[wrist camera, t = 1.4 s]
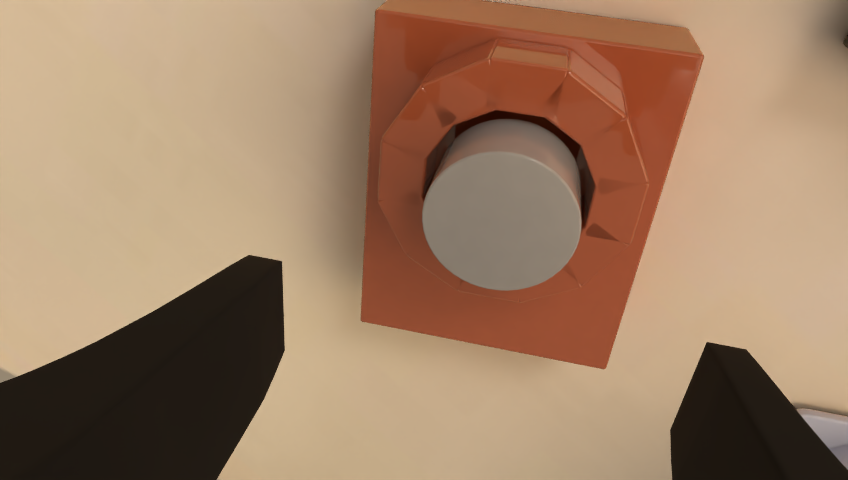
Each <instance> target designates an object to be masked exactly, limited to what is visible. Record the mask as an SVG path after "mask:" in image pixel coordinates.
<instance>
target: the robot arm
mask: <svg viewBox="0 0 848 480" xmlns="http://www.w3.org/2000/svg"><path fill="white" fill-rule="evenodd" d="M284 351H285V346H284V313H283V280H282V261H278V260H273V259H268V258H262V257H257V256H252V255H248V256H246V257H244V258H243V259H241V260H239V261H237V262H235V263H234V264H232V265H230V266H229V267H227V268H225V269H224V270H222V271H220V272H219V273H217V274H215V275H214V276H212V277H210V278H209V279H207V280H206V281H204V282H202V283H201V284H199V285H197V286H196V287H194V288H192V289H191V290H189V291H187V292H186V293H184V294H182V295H180V296H179V297H177V298H175V299H174V300H172V301H170V302H168V303H167V304H165V305H163V306H162V307H160V308H158V309H157V310H155V311H153V312H151V313H149V314H148V315H146V316H144V317H142V318H140V319H138V320H136V321H134V322H132V323H131V324H129V325H127V326H125V327H123V328H121V329H119V330H117V331H115V332H114V333H112V334H110V335H108V336H106V337H104V338H102V339H100V340H99V341H97V342H95V343H92V344H90V345H88V346H86V347H84V348H82V349H80V350H78V351H76V352H74V353H71V354H69V355H67V356H65V357H63V358H60V359H58V360H56V361H53V362H51V363H49V364H46V365H44V366H42V367H39V368H37V369H35V370H33V371H30V372H28V373H25V374H23V375H20V376H18V377H15V378H13V379H10V380H7V381H4V382H2V383H0V480H216V479H217V478H218V476H219V474H220V473H221V471H222V469H223V468H224V466H225V464H226V463H227V461H228V459H229V458H230V456H231V454H232V453H233V451H234V449H235V448H236V446H237V444H238V443H239V441H240V439H241V438H242V436H243V434H244V432H245V431H246V429H247V427H248V426H249V424H250V422H251V421H252V419H253V417H254V415H255V414H256V412H257V410H258V409H259V407H260V405H261V403H262V402H263V400H264V398H265V395H266V393H267V391H268V389H269V386H270V384H271V382H272V380H273V377H274V375H275V372H276V370H277V368H278V365H279V363H280V360H281V358H282V356H283V353H284ZM670 435H671V464H672V480H848V416H843V415H837V414H832V413H827V412H822V411H817V410H812V409H806V408H800V409H795V408H794V407H793V405H792V404H791V403H790V402H789V400H788V399H787V398H786V397H785V396H784V394H783V393H782V392H781V391H780V389H779V388H778V387H777V386H776V385H775V383H774V382H773V381H772V380H771V378H770V377H769V376H768V375H767V373H766V372H765V371H764V370H763V369H762V367H761V366H760V365H759V364H758V363H757V361H756V360H755V359H754V358H753V357H752V356H751V355H750V353H749V352H748V351H747V350H746V349H740V348H735V347H730V346H725V345H719V344H714V343H709V342H707V343H706V346H705V348H704V350H703V353H702V355H701V358H700V360H699V362H698V365H697V367H696V370H695V372H694V374H693V377H692V379H691V382H690V384H689V386H688V389H687V391H686V394H685V396H684V398H683V401H682V403H681V406H680V408H679V410H678V413H677V415H676V418H675V420H674V423H673V425H672V427H671V430H670Z"/></svg>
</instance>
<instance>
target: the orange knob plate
mask: <svg viewBox="0 0 848 480" xmlns="http://www.w3.org/2000/svg"><path fill="white" fill-rule="evenodd" d="M703 59H704V55H703V53H702V52H701V50H700V48H699V46H698V45H697V43H696V41H695V40H694V38H693V36H692V34H691V33H690V31H689V29H687V28H683V27H676V26H668V25H661V24H654V23H646V22H639V21H631V20H624V19H616V18H609V17H602V16H594V15H587V14H579V13H572V12H565V11H557V10H550V9H542V8H535V7H528V6H520V5H513V4H505V3H498V2H491V1H483V0H387V1H386V2H384V3H383V4H382V5H381V6H380V7H379V8H377V9H376V11H375V25H374V46H373V67H372V88H371V110H370V131H369V152H368V173H367V194H366V216H365V237H364V258H363V279H362V301H361V321H362V322H367V323H372V324H377V325H382V326H387V327H392V328H397V329H402V330H408V331H413V332H418V333H423V334H428V335H433V336H438V337H443V338H448V339H453V340H458V341H463V342H468V343H473V344H479V345H484V346H489V347H494V348H499V349H504V350H509V351H514V352H519V353H524V354H529V355H534V356H539V357H544V358H549V359H555V360H560V361H565V362H570V363H575V364H580V365H585V366H590V367H595V368H600V369H605V368H606V367H607V363H608V360H609V357H610V354H611V351H612V348H613V344H614V341H615V338H616V335H617V332H618V329H619V325H620V322H621V319H622V316H623V313H624V310H625V306H626V303H627V300H628V297H629V294H630V291H631V287H632V284H633V281H634V278H635V275H636V272H637V268H638V265H639V262H640V259H641V256H642V253H643V249H644V246H645V243H646V240H647V237H648V234H649V230H650V227H651V224H652V221H653V218H654V215H655V211H656V208H657V205H658V202H659V199H660V196H661V192H662V189H663V186H664V183H665V180H666V176H667V173H668V170H669V167H670V164H671V161H672V157H673V154H674V151H675V148H676V145H677V142H678V138H679V135H680V132H681V129H682V126H683V123H684V119H685V116H686V113H687V110H688V107H689V104H690V100H691V97H692V94H693V91H694V88H695V85H696V81H697V78H698V75H699V72H700V69H701V66H702V62H703ZM496 119H519V120H523V121H528V122H531V123H534V124H537V125H539V126H541V127H543V128H545V129H547V130H549V131H550V132H552V133H553V134H555V135H556V136H557V137H558V138H559V139H560V140H561V141H563V143H564V144H565V145H566V146H567V147H568V148H569V150H570V152H571V153H572V155H573V156H574V158H575V161H576V163H577V165H578V168H579V172H580V178H581V216H582V224H581V235H580V240H579V243H578V246H577V248H576V250H575V252H574V254H573V256H572V257H571V259H570V260H569V262H568V263H567V264H566V265H565V266H564V267H563V268H562V269H561V270H560V271H559V272H558V273H557V274H555V275H554V276H553V277H551V278H549V279H548V280H546V281H544V282H542V283H540V284H538V285H535V286H532V287H529V288H524V289H519V290H509V291H505V290H492V289H486V288H482V287H478V286H476V285H473V284H470V283H468V282H466V281H464V280H462V279H460V278H459V277H457V276H455V275H454V274H452V273H451V272H450V271H449V270H447V269H446V268H445V267H444V266H443V265H442V264H441V263H440V262H439V261H438V259H437V258H436V257H435V255H434V254H433V252H432V251H431V249H430V247H429V245H428V243H427V240H426V238H425V234H424V231H423V225H422V209H423V203H424V200H425V197H426V194H427V191H428V189H429V187H430V184H431V182H432V180H433V177H434V175H435V173H436V170H437V168H438V165H439V163H440V161H441V158H442V156H443V154H444V153H445V151H446V149H447V148H448V146H449V145H450V144H451V143H452V142H453V141H454V140H455V138H456V137H458V136H459V135H460V134H461V133H463V132H464V131H466V130H467V129H469V128H471V127H473V126H475V125H477V124H479V123H483V122H486V121H489V120H496Z"/></svg>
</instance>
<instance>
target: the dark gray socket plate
mask: <svg viewBox="0 0 848 480" xmlns="http://www.w3.org/2000/svg"><path fill="white" fill-rule="evenodd" d="M843 44H844V45H845V46H846V47H847V48H848V35H847V37H846V38H845V40H844V42H843Z"/></svg>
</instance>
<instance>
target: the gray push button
mask: <svg viewBox="0 0 848 480" xmlns="http://www.w3.org/2000/svg"><path fill="white" fill-rule="evenodd" d="M581 224H582V216H581V178H580V172H579V168H578V165H577V163H576V161H575V158H574V156H573V155H572V153H571V152H570V150H569V148H568V147H567V146H566V145H565V144H564V143H563V141H561V140H560V139H559V138H558V137H557V136H556V135H555V134H553V133H552V132H550V131H549V130H547V129H545V128H543V127H541V126H539V125H537V124H534V123H531V122H528V121H523V120H519V119H496V120H489V121H486V122H483V123H479V124H477V125H475V126H473V127H471V128H469V129H467V130H466V131H464V132H463V133H461V134H460V135H459V136H458V137H456V138H455V140H454V141H453V142H452V143H451V144H450V145H449V146H448V148H447V149H446V151H445V153H444V154H443V156H442V158H441V161H440V163H439V165H438V168H437V170H436V173H435V175H434V177H433V180H432V182H431V184H430V187H429V189H428V191H427V194H426V197H425V200H424V203H423V209H422V225H423V231H424V234H425V238H426V240H427V243H428V245H429V247H430V249H431V251H432V252H433V254H434V255H435V257H436V258H437V259H438V261H439V262H440V263H441V264H442V265H443V266H444V267H445V268H446V269H447V270H449V271H450V272H451V273H452V274H454V275H455V276H457V277H459V278H460V279H462V280H464V281H466V282H468V283H470V284H473V285H476V286H478V287H482V288H486V289H492V290H505V291H509V290H519V289H524V288H529V287H532V286H535V285H538V284H540V283H542V282H544V281H546V280H548V279H549V278H551V277H553V276H554V275H555V274H557V273H558V272H559V271H560V270H561V269H562V268H563V267H564V266H565V265H566V264H567V263H568V262H569V260H570V259H571V257H572V256H573V254H574V252H575V250H576V248H577V246H578V243H579V240H580V235H581Z"/></svg>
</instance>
